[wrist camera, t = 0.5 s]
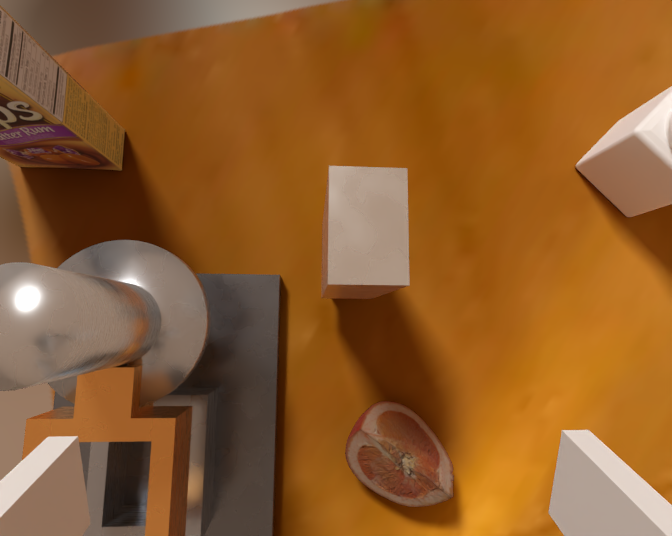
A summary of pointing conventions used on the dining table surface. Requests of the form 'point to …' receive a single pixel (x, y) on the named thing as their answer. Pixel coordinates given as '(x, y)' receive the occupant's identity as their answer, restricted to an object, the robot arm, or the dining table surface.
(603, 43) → the dining table surface
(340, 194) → the rectangular block
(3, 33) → the candy box
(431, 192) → the dining table surface
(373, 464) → the fruit slice
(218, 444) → the grey press stand
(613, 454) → the robot arm
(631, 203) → the medicine bottle
